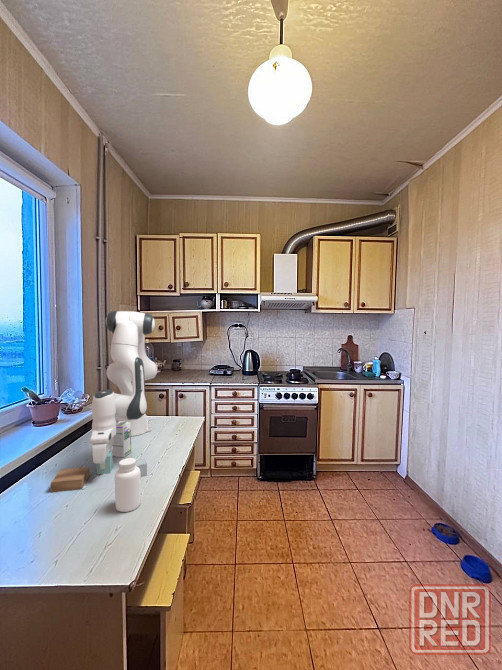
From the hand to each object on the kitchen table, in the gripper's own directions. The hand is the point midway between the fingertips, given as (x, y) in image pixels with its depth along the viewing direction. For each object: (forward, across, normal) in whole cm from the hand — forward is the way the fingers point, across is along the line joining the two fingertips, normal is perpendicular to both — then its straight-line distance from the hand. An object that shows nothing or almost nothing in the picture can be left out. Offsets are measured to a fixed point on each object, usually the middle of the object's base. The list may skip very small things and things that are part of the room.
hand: (104, 464), depth 126 cm
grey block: (+3, +6, +14) cm, 15 cm away
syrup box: (+3, -15, +4) cm, 16 cm away
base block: (+3, +8, -10) cm, 13 cm away
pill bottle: (+3, +27, +13) cm, 30 cm away
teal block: (+3, 0, 0) cm, 3 cm away
